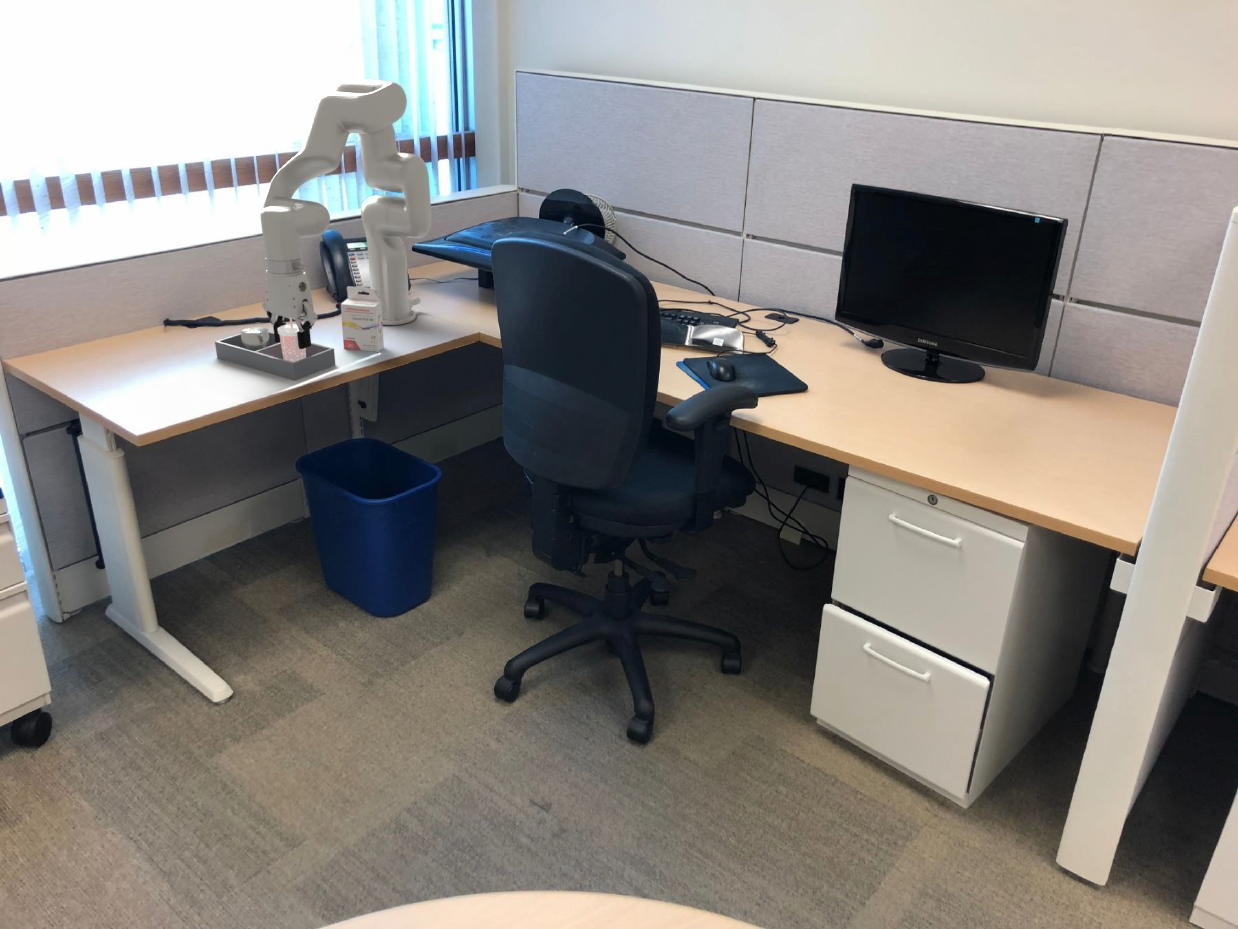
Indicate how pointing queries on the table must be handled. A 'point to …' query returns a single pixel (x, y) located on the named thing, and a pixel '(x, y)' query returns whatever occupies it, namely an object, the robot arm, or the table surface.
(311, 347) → the organizer tray
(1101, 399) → the table surface
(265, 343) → the metal tin
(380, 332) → the ink cartridge box
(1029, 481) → the table surface
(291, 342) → the beverage cup
